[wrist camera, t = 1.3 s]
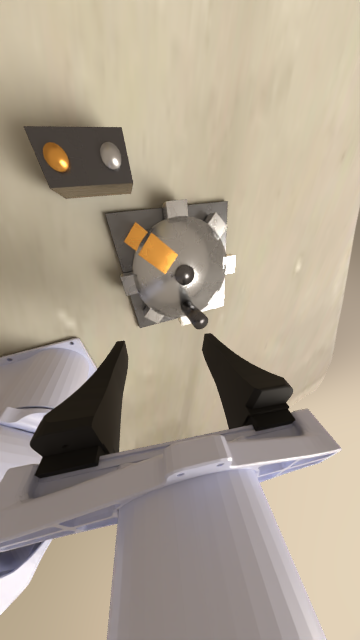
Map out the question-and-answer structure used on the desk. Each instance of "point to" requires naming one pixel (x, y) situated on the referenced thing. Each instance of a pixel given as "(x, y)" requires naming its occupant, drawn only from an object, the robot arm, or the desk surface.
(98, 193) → the two-button control panel
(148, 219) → the plate
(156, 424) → the desk surface
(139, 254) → the sprocket
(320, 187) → the desk surface
